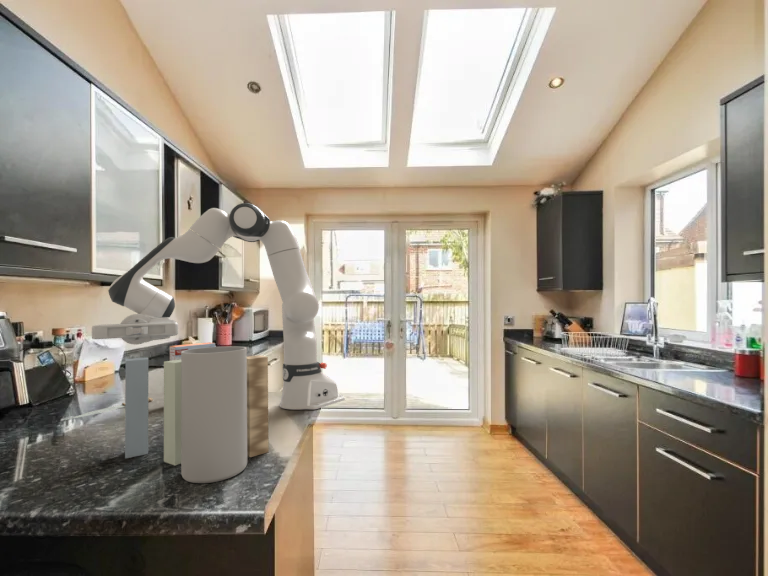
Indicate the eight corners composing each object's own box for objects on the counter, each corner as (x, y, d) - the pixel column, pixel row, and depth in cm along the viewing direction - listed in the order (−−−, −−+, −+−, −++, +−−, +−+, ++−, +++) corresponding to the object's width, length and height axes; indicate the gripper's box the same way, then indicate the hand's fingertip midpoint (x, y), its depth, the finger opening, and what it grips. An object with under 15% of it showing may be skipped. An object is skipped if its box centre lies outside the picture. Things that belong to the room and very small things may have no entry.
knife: (64, 421, 118) (58, 416, 121) (64, 426, 118) (58, 421, 121) (155, 399, 141) (148, 396, 144) (155, 403, 141) (148, 400, 144)
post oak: (260, 447, 93) (259, 355, 94) (268, 451, 90) (267, 356, 91) (241, 452, 90) (241, 357, 91) (249, 457, 87) (249, 358, 88)
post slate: (147, 448, 94) (147, 357, 95) (148, 453, 91) (148, 359, 91) (125, 452, 92) (125, 358, 93) (125, 458, 88) (125, 361, 89)
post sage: (183, 454, 90) (183, 358, 90) (194, 458, 87) (194, 360, 88) (163, 461, 86) (163, 361, 87) (175, 465, 83) (175, 362, 84)
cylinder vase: (178, 490, 72) (178, 355, 73) (183, 465, 83) (183, 348, 84) (249, 477, 77) (248, 350, 78) (245, 455, 88) (244, 345, 89)
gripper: (93, 319, 109) (88, 321, 97) (175, 317, 120) (179, 318, 108) (92, 342, 108) (87, 346, 97) (175, 337, 119) (179, 340, 108)
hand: (137, 331), depth 103 cm, fingers closed
